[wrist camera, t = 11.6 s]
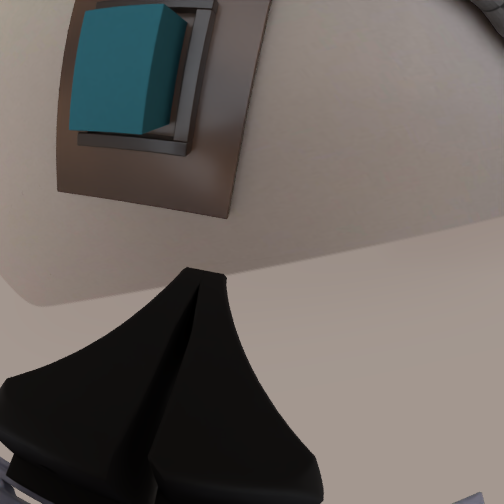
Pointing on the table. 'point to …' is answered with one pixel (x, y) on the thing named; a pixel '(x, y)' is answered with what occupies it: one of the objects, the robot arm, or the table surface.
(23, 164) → the table surface
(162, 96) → the teal block
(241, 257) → the table surface
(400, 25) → the table surface
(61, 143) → the brown board with frame
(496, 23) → the flashlight
